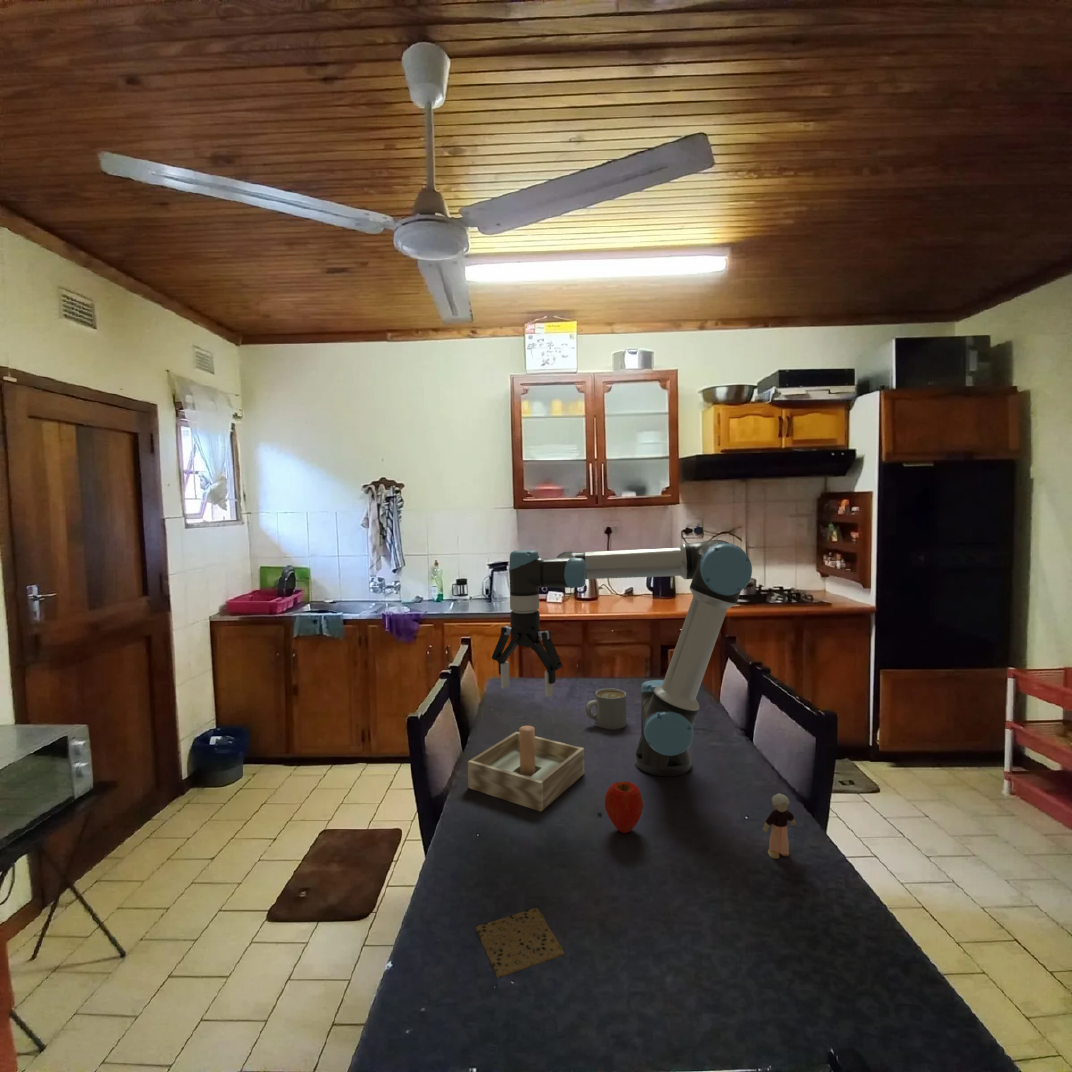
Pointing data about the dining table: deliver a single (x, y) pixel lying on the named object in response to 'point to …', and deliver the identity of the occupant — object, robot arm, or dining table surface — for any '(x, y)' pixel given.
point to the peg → (527, 750)
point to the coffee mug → (608, 708)
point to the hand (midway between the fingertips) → (526, 691)
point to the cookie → (518, 942)
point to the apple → (624, 805)
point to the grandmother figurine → (779, 826)
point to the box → (503, 779)
